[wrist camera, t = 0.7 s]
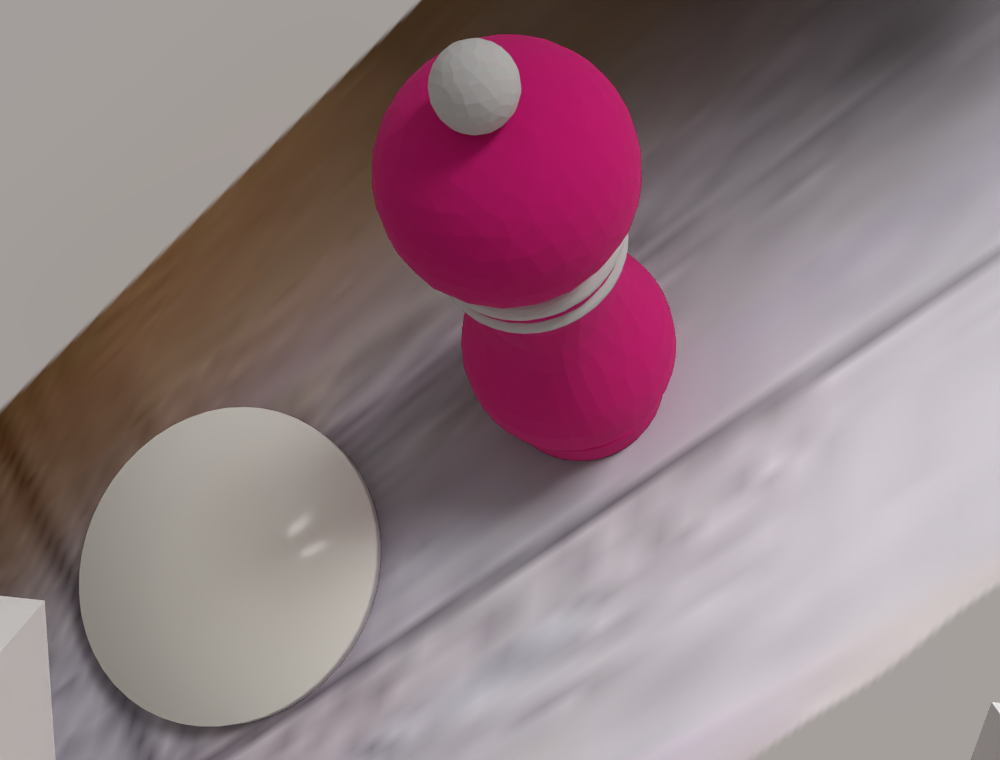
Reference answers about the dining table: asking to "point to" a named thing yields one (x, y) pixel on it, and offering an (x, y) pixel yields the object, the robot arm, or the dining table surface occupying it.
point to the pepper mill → (530, 237)
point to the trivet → (229, 567)
